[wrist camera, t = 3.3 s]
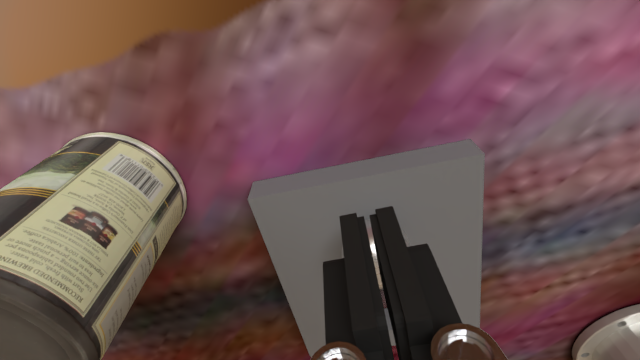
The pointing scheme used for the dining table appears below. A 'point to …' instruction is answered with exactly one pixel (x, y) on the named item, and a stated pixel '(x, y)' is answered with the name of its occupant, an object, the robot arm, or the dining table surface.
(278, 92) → the dining table surface
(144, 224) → the coffee can
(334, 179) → the hole board
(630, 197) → the dining table surface
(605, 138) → the dining table surface
